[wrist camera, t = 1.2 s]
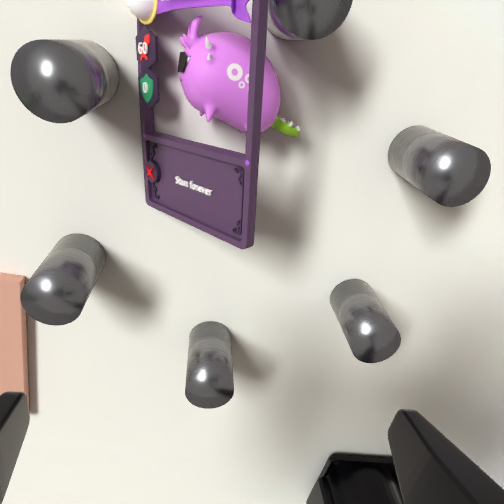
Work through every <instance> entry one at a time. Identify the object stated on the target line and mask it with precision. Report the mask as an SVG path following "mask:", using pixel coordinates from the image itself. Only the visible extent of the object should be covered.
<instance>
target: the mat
mask: <svg viewBox="0 0 504 504" xmlns="http://www.w3.org/2000/svg"><path fill="white" fill-rule="evenodd" d="M24 286H25V276H19V275H12V274H4V273H0V395H1V394H2V393H4V392H7V391H13V392H24V393H25V394H26V395H27V401H28V408H29V385H28V356H27V327H26V311H25V310H24V308H23V307H22V305H21V301H20V294H21V291H22V289H23V287H24Z"/></svg>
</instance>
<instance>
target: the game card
mask: <svg viewBox="0 0 504 504" xmlns="http://www.w3.org/2000/svg"><path fill="white" fill-rule="evenodd" d="M248 1H249V0H126V3H127V6H128V8H129V9H130V11H131V12H132V13H133V14H134V15H135V16H136V17H137V36H136V49H137V60H138V81H139V99H140V115H141V131H142V147H143V163H144V179H145V195H146V202H147V204H148V205H149V206H151V207H153V208H156V209H158V210H160V211H162V212H164V213H166V214H168V215H170V216H172V217H175V218H177V219H179V220H181V221H183V222H185V223H187V224H189V225H192V226H194V227H196V228H198V229H200V230H202V231H204V232H206V233H208V234H211V235H213V236H215V237H217V238H219V239H221V240H223V241H225V242H228V243H230V244H232V245H234V246H236V247H238V248H240V249H246V248H249V247H251V246H253V243H254V229H255V212H256V196H257V180H258V164H259V148H260V132H262V131H265V130H266V129H268V128H269V127H272V128H274V129H276V130H278V131H280V132H282V133H284V134H286V135H291V136H293V137H296V136H298V134H299V131H300V130H301V129H299V126H298V125H297V126H296V127H292V125H293V124H294V123H292V121H291V122H290V123H289V120H288V122H286V120H285V118H283V117H282V118H279V117H278V116H277V114H278V111H279V107H280V98H281V94H280V85H279V81H278V78H277V75H276V72H275V70H274V68H273V66H272V64H271V63H270V61H269V59H268V58H267V57H266V55H265V50H266V34H267V18H268V2H269V0H253V4H252V25H251V40H249V39H248V38H246V37H244V36H242V35H239V34H236V33H231V32H215V33H210V34H206V35H203V36H201V37H199V34H198V31H199V25H200V22H201V20H202V16H198V17H196V18H195V19H194V20H193V21H192V22H191V23H190V24H189V26H188V33H187V35H185V34H183V37H180V41H181V43H182V45H183V46H184V47H185V48H186V49H185V51H184V52H180V57H179V64H178V72H179V76H180V81H181V85H182V88H183V91H184V93H185V96H186V98H187V99H188V101H189V102H190V103H191V105H192V106H193V107H194V108H196V109H197V110H199V111H200V116H202V115H203V114H204V113H205V114H206V119H207V122H209V121H210V120H211V118H212V117H214V118H217V119H219V120H221V121H223V122H225V123H227V124H229V125H231V126H233V127H235V128H237V129H238V130H239V132H243V131H245V132H246V153H245V154H243V153H239V152H235V151H231V150H227V149H223V148H218V147H214V146H210V145H206V144H202V143H198V142H194V141H190V140H186V139H182V138H178V137H174V136H170V135H166V134H162V133H158V132H155V131H154V123H153V106H154V105H155V104H156V103H157V102H158V101H159V79H158V77H157V76H156V75H155V74H154V73H153V72H152V70H151V68H152V66H153V65H154V64H155V63H156V62H157V61H158V54H157V37H156V35H155V34H154V33H153V32H152V31H151V30H150V29H149V28H148V27H147V26H146V25H148V24H150V23H152V22H153V20H154V18H155V16H156V14H160V13H164V12H167V11H171V10H175V9H181V8H192V7H206V6H230V7H231V8H232V13H233V15H234V16H235V17H237V18H238V19H240V20H243V21H245V22H248V23H251V20H250V17H249V14H248V12H247V9H246V4H247V3H248ZM144 24H146V25H144Z"/></svg>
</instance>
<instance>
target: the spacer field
mask: <svg viewBox="0 0 504 504" xmlns="http://www.w3.org/2000/svg"><path fill="white" fill-rule="evenodd" d="M352 1H353V0H269V2H268V18H267V28H268V30H269V31H270V32H271V33H272V34H274V35H275V36H277V37H279V38H281V39H285V40H313V39H319V38H323V37H325V36H328V35H329V34H331V33H332V32H334V31H335V30H336V29H337V28H338V27H339V26H340V25H341V24H342V23H343V21H344V20H345V18H346V17H347V15H348V13H349V10H350V8H351V5H352ZM11 81H12V85H13V88H14V90H15V92H16V94H17V96H18V98H19V99H20V101H21V102H22V103H23V105H24V106H25V107H26V108H27V109H28V110H29V111H31V112H32V113H33V114H35V115H36V116H38V117H40V118H41V119H44V120H46V121H49V122H54V123H68V122H72V121H74V120H76V119H78V118H80V117H82V116H83V115H85V114H87V113H88V112H90V111H92V110H94V109H95V108H97V107H99V106H100V105H102V104H104V103H106V102H107V101H109V100H110V99H111V98H112V97H113V96H114V94H115V93H116V91H117V88H118V84H119V74H118V69H117V66H116V64H115V62H114V60H113V58H112V57H111V55H110V54H109V53H108V52H107V51H106V50H105V49H104V48H103V47H101V46H100V45H98V44H96V43H94V42H91V41H87V40H35V41H31V42H29V43H26V44H25V45H23V46H22V47H21V48H20V49H19V50H18V51H17V52H16V54H15V56H14V58H13V60H12V64H11ZM388 162H389V165H390V167H391V168H392V170H393V171H394V172H395V173H397V174H398V175H400V176H401V177H402V178H404V179H405V180H407V181H408V182H409V183H411V184H412V185H414V186H415V187H416V188H418V189H419V190H421V191H422V192H423V193H425V194H426V195H428V196H429V197H430V198H432V199H433V200H435V201H436V202H437V203H439V204H441V205H443V206H448V207H454V206H460V205H463V204H465V203H467V202H469V201H471V200H472V199H474V198H475V197H476V196H477V195H478V194H479V193H480V192H481V191H482V190H483V188H484V187H485V185H486V184H487V181H488V179H489V176H490V171H491V164H490V160H489V157H488V156H487V154H486V153H485V152H484V151H483V150H481V149H479V148H477V147H475V146H472V145H470V144H467V143H465V142H462V141H460V140H457V139H455V138H452V137H450V136H447V135H445V134H442V133H440V132H437V131H435V130H432V129H430V128H427V127H424V126H412V127H409V128H406V129H404V130H403V131H401V132H400V133H399V134H398V135H397V136H396V137H395V138H394V140H393V141H392V143H391V145H390V147H389V151H388ZM104 263H105V252H104V249H103V248H102V246H101V245H100V244H99V243H98V242H97V241H96V240H95V239H93V238H92V237H90V236H87V235H84V234H70V235H67V236H64V237H63V238H61V239H60V240H59V241H58V243H57V244H56V245H55V247H54V248H53V249H52V251H51V252H50V253H49V254H48V256H47V257H46V258H45V260H44V261H43V262H42V264H41V265H40V266H39V268H38V269H37V270H36V271H35V273H34V274H33V275H32V277H31V278H30V279H29V281H28V282H27V283H26V285H25V286H24V287H23V289H22V291H21V294H20V301H21V305H22V307H23V308H24V310H25V311H26V312H27V314H28V315H30V316H31V317H32V318H34V319H35V320H37V321H39V322H41V323H44V324H48V325H64V324H68V323H70V322H72V321H74V320H75V319H76V318H78V316H79V315H80V313H81V311H82V309H83V307H84V305H85V303H86V301H87V299H88V297H89V295H90V293H91V291H92V288H93V286H94V284H95V282H96V280H97V278H98V276H99V274H100V272H101V270H102V268H103V266H104ZM330 303H331V306H332V308H333V310H334V312H335V315H336V317H337V319H338V321H339V324H340V326H341V328H342V330H343V332H344V335H345V337H346V339H347V341H348V343H349V346H350V348H351V350H352V352H353V354H354V356H355V357H356V358H357V359H358V360H360V361H362V362H366V363H376V362H380V361H383V360H385V359H387V358H389V357H390V356H392V355H393V354H394V353H395V352H396V351H397V349H398V348H399V346H400V343H401V337H400V334H399V332H398V330H397V329H396V327H395V326H394V324H393V323H392V321H391V320H390V318H389V316H388V315H387V313H386V312H385V310H384V309H383V307H382V306H381V304H380V302H379V301H378V299H377V298H376V296H375V295H374V293H373V292H372V290H371V288H370V287H369V285H368V284H367V283H366V282H364V281H362V280H359V279H350V280H346V281H343V282H341V283H340V284H338V285H337V286H336V287H335V288H334V289H333V291H332V293H331V295H330ZM233 393H234V384H233V369H232V353H231V337H230V332H229V330H228V329H227V328H226V327H225V326H224V325H222V324H220V323H217V322H203V323H200V324H198V325H197V326H195V327H194V328H193V329H192V331H191V333H190V336H189V348H188V361H187V375H186V388H185V395H186V398H187V399H188V401H189V402H190V403H192V404H193V405H195V406H197V407H201V408H216V407H220V406H222V405H224V404H226V403H227V402H228V401H229V400H230V399H231V398H232V396H233Z"/></svg>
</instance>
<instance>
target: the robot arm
mask: <svg viewBox="0 0 504 504" xmlns="http://www.w3.org/2000/svg"><path fill="white" fill-rule="evenodd" d="M29 419H30V416H29V408H28V401H27V395H26V394H25V393H24V392H13V391H7V392H4V393H2V394H1V395H0V504H1V503H2V501H3V499H4V496H5V493H6V490H7V488H8V485H9V482H10V479H11V476H12V473H13V470H14V467H15V464H16V461H17V458H18V455H19V452H20V449H21V446H22V444H23V441H24V438H25V435H26V432H27V429H28V425H29ZM388 440H389V444H390V448H391V452H392V456H393V459H391V458H376V457H361V456H347V455H333V456H331V457H329V459H328V461H327V462H326V464H325V466H324V468H323V470H322V472H321V474H320V476H319V478H318V480H317V482H316V484H315V486H314V488H313V490H312V491H311V493H310V495H309V497H308V499H307V501H306V504H504V489H502V488H501V487H500V486H499V485H498V484H497V483H496V482H495V481H494V480H492V479H491V478H490V477H489V476H488V475H487V474H486V473H485V472H484V471H483V470H481V469H480V468H479V467H478V466H477V465H476V464H475V463H474V462H473V461H471V460H470V459H469V458H468V457H467V456H466V455H465V454H464V453H463V452H462V451H460V450H459V449H458V448H457V447H456V446H455V445H454V444H453V443H452V442H450V441H449V440H448V439H447V438H446V437H445V436H444V435H443V434H442V433H440V432H439V431H438V430H437V429H436V428H435V427H434V426H433V425H432V424H431V423H429V422H428V421H427V420H426V419H425V418H424V417H423V416H422V415H421V414H419V413H418V412H417V411H415V410H409V409H400V410H399V411H398V412H397V414H396V416H395V418H394V419H393V421H392V423H391V425H390V427H389V430H388Z"/></svg>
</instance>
